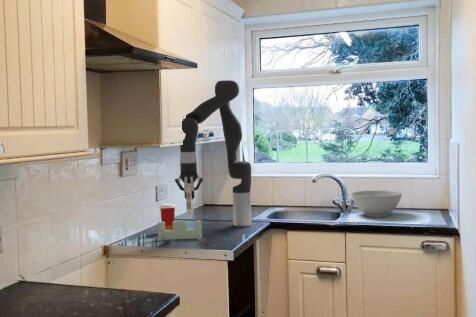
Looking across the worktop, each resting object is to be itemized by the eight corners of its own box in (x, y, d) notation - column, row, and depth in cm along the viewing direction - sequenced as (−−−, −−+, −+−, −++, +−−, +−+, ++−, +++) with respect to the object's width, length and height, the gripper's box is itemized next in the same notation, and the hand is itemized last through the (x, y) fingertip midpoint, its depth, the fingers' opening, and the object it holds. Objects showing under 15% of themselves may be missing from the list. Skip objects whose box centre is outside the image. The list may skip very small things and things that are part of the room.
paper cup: (170, 230, 260) (169, 202, 259) (179, 232, 254) (178, 204, 253) (157, 232, 255) (156, 204, 254) (165, 235, 249) (164, 206, 248)
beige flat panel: (189, 212, 247) (188, 181, 246) (193, 212, 247) (192, 181, 246) (186, 218, 231) (185, 184, 230) (191, 218, 231) (190, 184, 230)
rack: (159, 237, 243) (158, 220, 243) (202, 236, 244) (201, 219, 244) (157, 241, 235) (156, 223, 235) (201, 239, 236) (200, 222, 236)
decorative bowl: (410, 214, 287) (410, 192, 286) (387, 221, 268) (386, 198, 267) (367, 209, 306) (366, 189, 305) (342, 216, 286) (342, 194, 286)
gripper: (203, 160, 242) (204, 197, 243) (174, 161, 241) (175, 198, 242) (203, 161, 234) (204, 200, 235) (172, 162, 234) (173, 201, 235)
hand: (189, 199), depth 239 cm, fingers closed on beige flat panel, 2 cm apart
